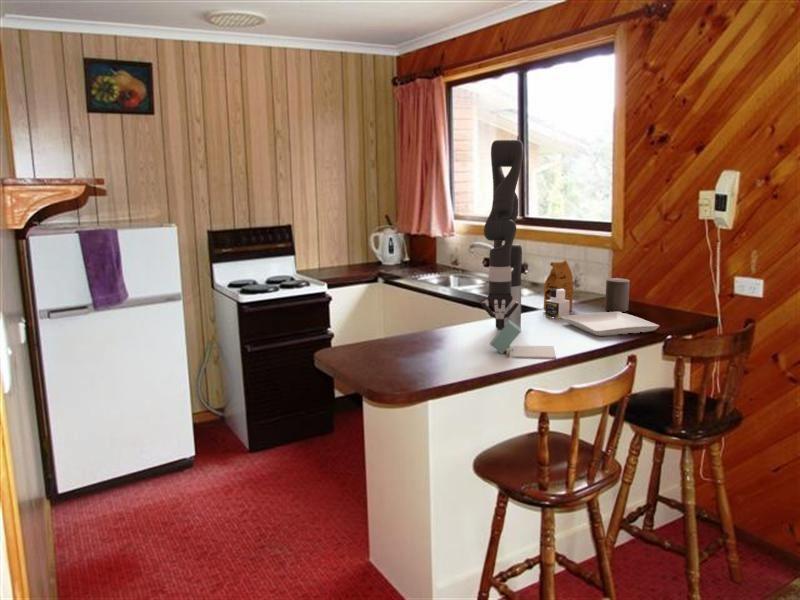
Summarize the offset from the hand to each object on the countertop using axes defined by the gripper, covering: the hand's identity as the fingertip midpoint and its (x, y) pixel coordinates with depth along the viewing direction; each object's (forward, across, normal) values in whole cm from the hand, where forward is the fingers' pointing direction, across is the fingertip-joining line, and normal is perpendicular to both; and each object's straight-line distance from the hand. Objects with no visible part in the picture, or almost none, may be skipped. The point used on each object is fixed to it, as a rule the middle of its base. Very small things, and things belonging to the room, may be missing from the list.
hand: (499, 329), depth 229 cm
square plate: (+9, -41, -38) cm, 56 cm away
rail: (+8, -3, 0) cm, 9 cm away
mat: (+8, -11, 0) cm, 14 cm away
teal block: (+6, +1, 0) cm, 7 cm away
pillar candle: (+8, -48, -71) cm, 87 cm away
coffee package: (+8, -23, -70) cm, 74 cm away
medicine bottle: (+8, -22, -58) cm, 63 cm away
